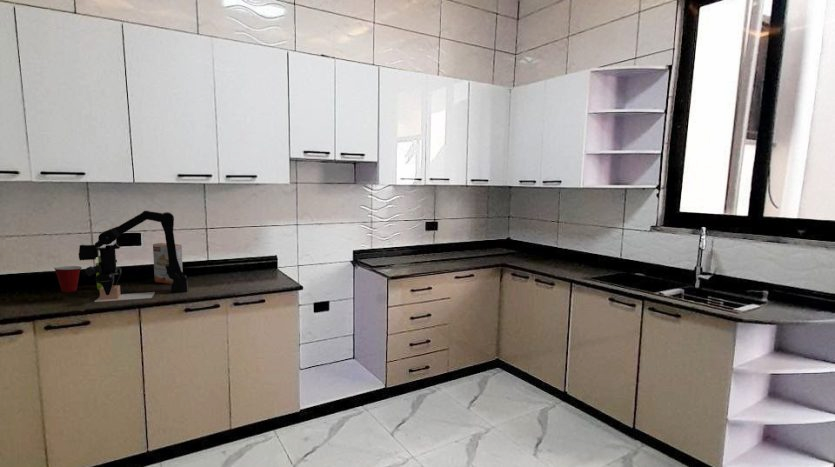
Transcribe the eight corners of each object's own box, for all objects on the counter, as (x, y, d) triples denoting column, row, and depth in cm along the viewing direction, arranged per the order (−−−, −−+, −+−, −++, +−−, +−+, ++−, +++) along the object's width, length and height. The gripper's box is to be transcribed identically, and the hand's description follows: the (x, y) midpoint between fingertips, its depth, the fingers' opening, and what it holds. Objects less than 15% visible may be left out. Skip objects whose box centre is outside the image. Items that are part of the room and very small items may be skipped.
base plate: (155, 294, 213) (155, 292, 213) (151, 299, 203) (151, 297, 203) (100, 297, 204) (100, 295, 204) (94, 304, 194) (93, 301, 194)
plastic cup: (89, 288, 220) (87, 265, 219) (68, 294, 209) (66, 269, 208) (71, 287, 222) (69, 263, 221) (49, 292, 211) (47, 268, 210)
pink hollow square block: (120, 295, 205) (119, 285, 205) (117, 298, 200) (117, 288, 199) (103, 296, 203) (102, 286, 202) (100, 300, 197) (99, 289, 197)
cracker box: (153, 282, 236) (152, 243, 233) (163, 280, 242) (161, 242, 239) (174, 285, 232) (172, 245, 229) (183, 282, 237) (182, 244, 235)
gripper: (92, 256, 205) (94, 289, 206) (80, 263, 187) (82, 299, 189) (120, 255, 209) (122, 287, 211) (111, 262, 192) (113, 297, 194)
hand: (110, 292), depth 201 cm, fingers open, 9 cm apart
